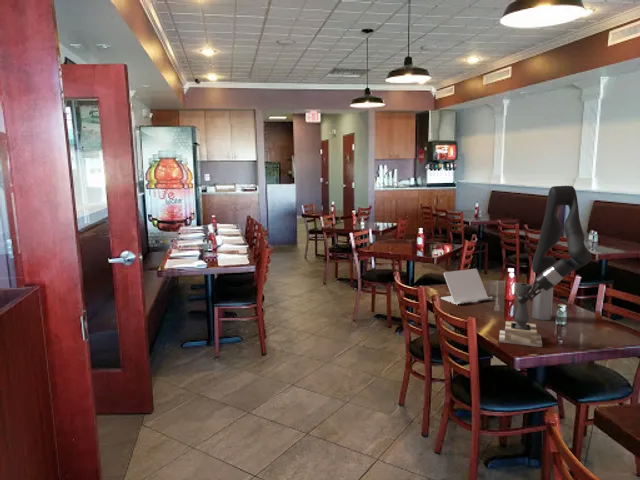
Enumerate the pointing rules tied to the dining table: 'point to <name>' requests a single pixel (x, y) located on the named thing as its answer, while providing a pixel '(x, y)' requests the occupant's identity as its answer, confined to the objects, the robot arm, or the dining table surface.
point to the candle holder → (522, 307)
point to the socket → (520, 335)
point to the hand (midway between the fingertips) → (520, 300)
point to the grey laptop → (465, 287)
